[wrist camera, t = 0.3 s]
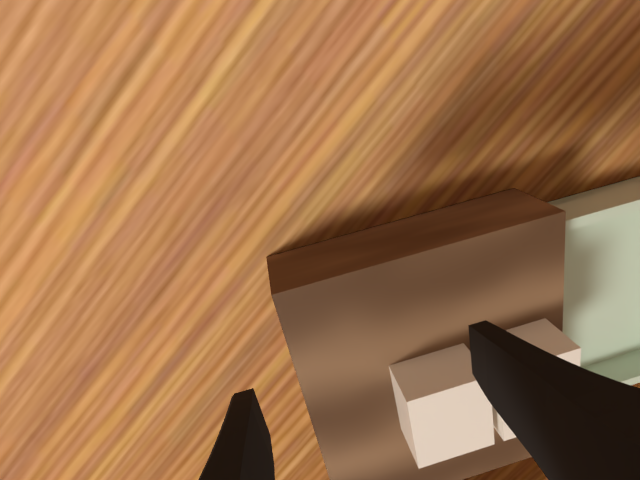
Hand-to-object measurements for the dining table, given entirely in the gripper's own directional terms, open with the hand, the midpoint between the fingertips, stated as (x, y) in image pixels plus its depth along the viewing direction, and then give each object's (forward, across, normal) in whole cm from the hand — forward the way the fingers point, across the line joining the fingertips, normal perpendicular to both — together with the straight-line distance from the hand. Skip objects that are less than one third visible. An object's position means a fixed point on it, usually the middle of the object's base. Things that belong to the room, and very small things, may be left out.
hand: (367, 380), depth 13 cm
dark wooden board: (+10, -4, +7) cm, 13 cm away
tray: (+10, -17, +7) cm, 21 cm away
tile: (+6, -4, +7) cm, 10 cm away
